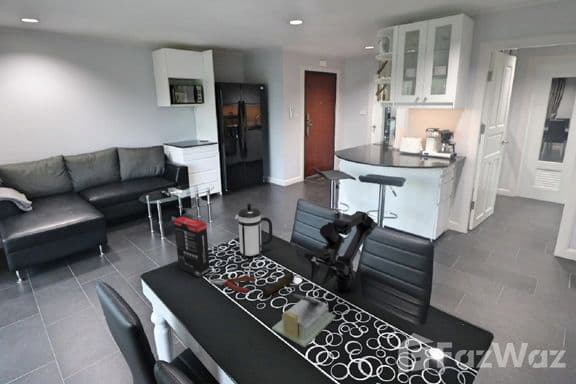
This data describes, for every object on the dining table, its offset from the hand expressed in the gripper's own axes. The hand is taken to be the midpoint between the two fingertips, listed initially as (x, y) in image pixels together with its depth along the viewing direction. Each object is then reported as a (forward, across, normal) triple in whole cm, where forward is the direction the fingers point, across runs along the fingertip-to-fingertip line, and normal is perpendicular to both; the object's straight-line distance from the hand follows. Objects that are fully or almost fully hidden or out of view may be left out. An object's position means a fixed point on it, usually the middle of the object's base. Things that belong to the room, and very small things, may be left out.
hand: (317, 282), depth 124 cm
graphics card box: (+17, -67, +2) cm, 69 cm away
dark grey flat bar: (+8, 0, -2) cm, 8 cm away
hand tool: (+6, -24, +13) cm, 28 cm away
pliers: (+14, -43, +6) cm, 45 cm away
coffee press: (-6, -58, +25) cm, 63 cm away
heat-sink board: (+15, 0, +4) cm, 16 cm away
